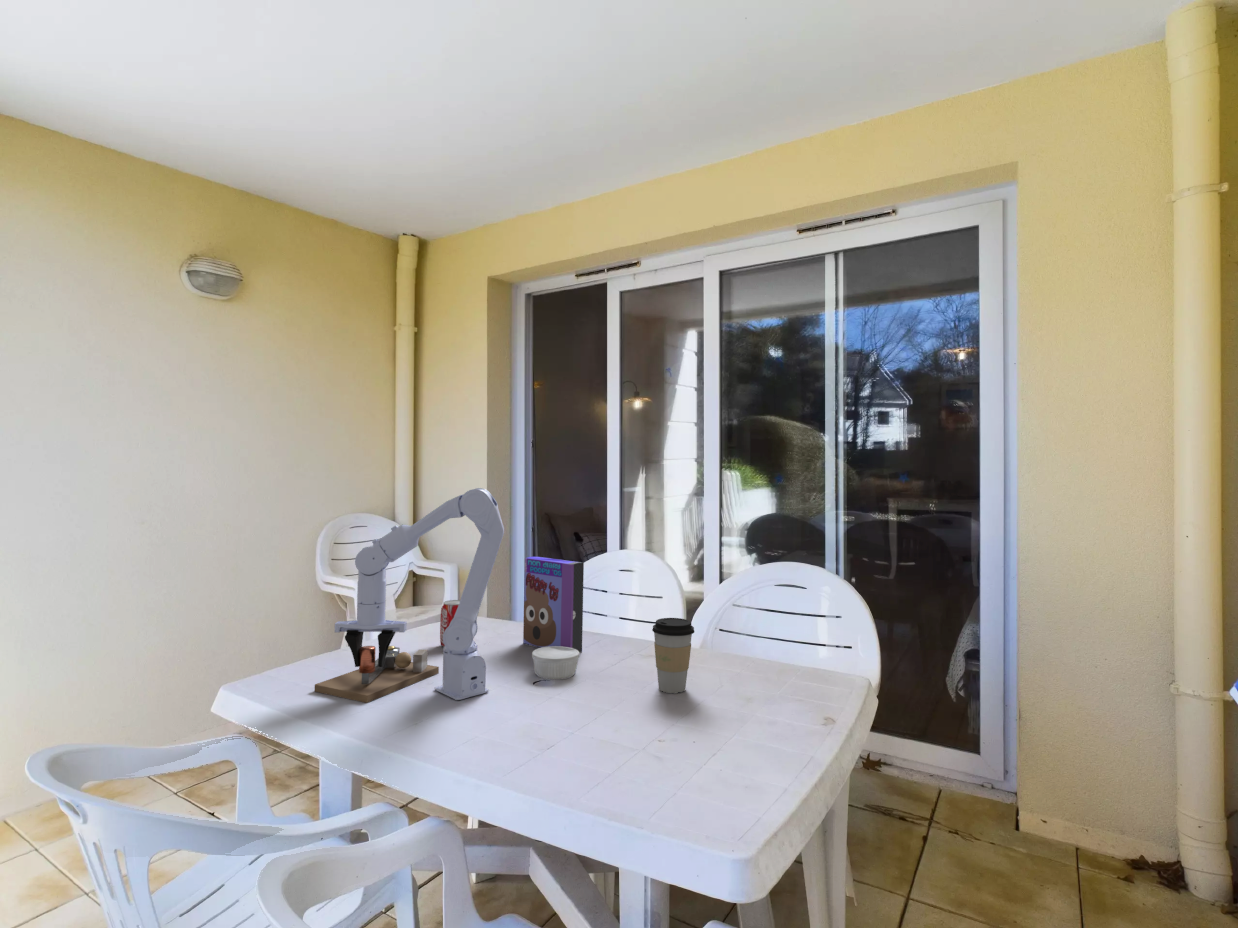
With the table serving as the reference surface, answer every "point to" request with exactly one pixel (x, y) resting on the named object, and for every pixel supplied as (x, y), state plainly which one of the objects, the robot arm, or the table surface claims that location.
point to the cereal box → (553, 603)
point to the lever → (374, 662)
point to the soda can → (447, 616)
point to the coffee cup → (672, 652)
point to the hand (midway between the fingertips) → (369, 665)
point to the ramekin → (555, 662)
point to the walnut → (403, 660)
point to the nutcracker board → (378, 680)
